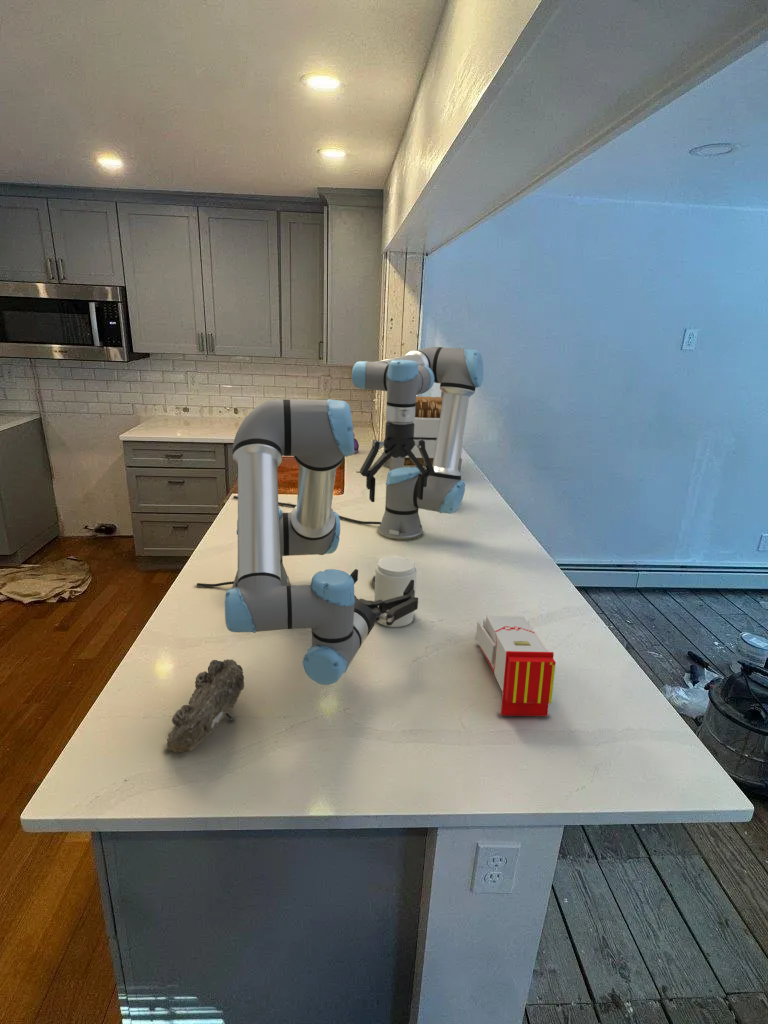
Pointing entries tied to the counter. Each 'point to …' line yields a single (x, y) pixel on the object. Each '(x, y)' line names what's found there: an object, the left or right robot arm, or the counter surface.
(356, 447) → the figurine
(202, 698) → the fossil
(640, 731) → the counter surface
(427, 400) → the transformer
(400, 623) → the jar
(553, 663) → the toy
